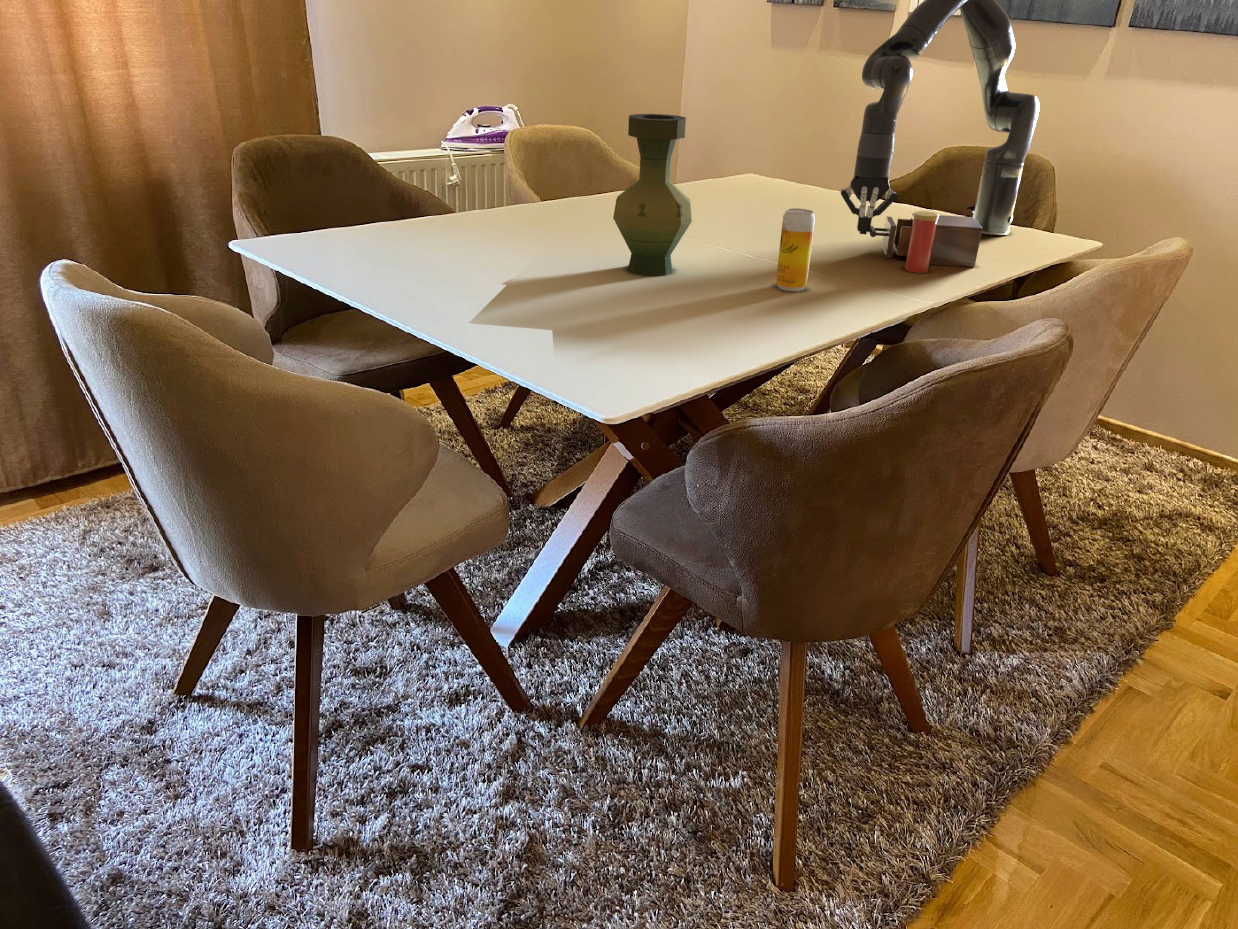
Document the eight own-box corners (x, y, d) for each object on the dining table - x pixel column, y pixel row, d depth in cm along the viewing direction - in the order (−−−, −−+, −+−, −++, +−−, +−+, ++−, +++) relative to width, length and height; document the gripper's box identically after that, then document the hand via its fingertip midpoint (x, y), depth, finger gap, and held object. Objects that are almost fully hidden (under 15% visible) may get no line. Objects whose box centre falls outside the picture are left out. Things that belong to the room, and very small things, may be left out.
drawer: (868, 255, 206) (872, 224, 203) (864, 244, 215) (868, 215, 212) (943, 260, 204) (949, 229, 201) (936, 249, 213) (942, 219, 210)
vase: (697, 265, 197) (708, 115, 183) (677, 283, 183) (687, 124, 170) (625, 256, 201) (630, 110, 188) (600, 274, 188) (603, 117, 174)
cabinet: (911, 262, 205) (918, 223, 201) (905, 250, 215) (911, 213, 211) (974, 267, 203) (982, 227, 199) (965, 254, 213) (972, 217, 210)
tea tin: (903, 266, 202) (912, 210, 196) (926, 267, 201) (936, 212, 196) (905, 272, 197) (915, 215, 192) (929, 273, 197) (940, 216, 191)
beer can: (772, 283, 186) (780, 207, 179) (801, 283, 186) (811, 208, 180) (779, 291, 180) (788, 214, 174) (809, 292, 181) (819, 214, 174)
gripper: (903, 153, 204) (890, 232, 212) (843, 149, 206) (832, 228, 214) (907, 158, 198) (894, 239, 205) (844, 154, 199) (833, 235, 207)
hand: (862, 233), depth 209 cm, fingers closed
